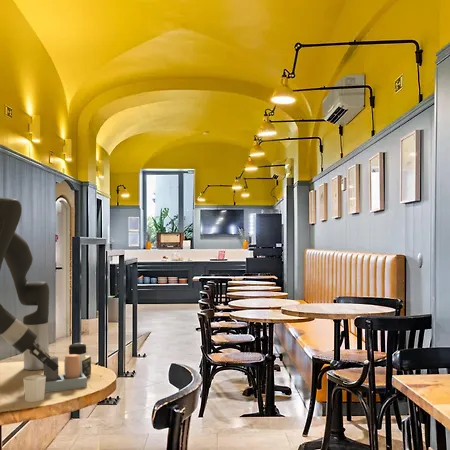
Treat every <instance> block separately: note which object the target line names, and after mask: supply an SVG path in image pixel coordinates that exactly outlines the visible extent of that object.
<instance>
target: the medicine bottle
mask: <svg viewBox="0 0 450 450" xmlns="http://www.w3.org/2000/svg"><path fill="white" fill-rule="evenodd" d="M71 354H77V355H80V372H82V373H83V374H84V375H85V376H86V377H87V378H88V377H90V376H91V375H92V357H91V355H87V345H86V344H85V343H82V342H76V343H71V344H70V345H68V355H71ZM63 363H64V366H63V367H64V368H63V369H64V371H63V372H64V373H63V374H65V359H64V360H63Z"/></svg>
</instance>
